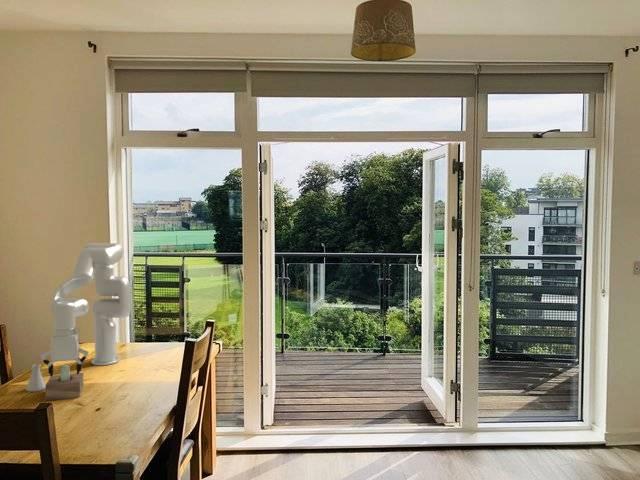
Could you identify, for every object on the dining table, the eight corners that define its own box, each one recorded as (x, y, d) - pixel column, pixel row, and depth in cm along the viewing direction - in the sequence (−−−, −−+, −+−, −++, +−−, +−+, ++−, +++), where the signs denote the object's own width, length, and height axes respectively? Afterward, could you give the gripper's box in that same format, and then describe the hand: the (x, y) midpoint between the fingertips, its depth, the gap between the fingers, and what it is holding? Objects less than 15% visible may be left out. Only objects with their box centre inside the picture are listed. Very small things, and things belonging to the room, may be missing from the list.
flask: (50, 387, 203) (50, 363, 203) (35, 393, 197) (34, 368, 196) (37, 385, 206) (37, 362, 205) (22, 390, 199) (21, 366, 199)
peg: (61, 389, 198) (61, 365, 197) (70, 388, 199) (70, 365, 198) (59, 392, 195) (59, 368, 194) (69, 391, 196) (69, 367, 195)
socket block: (51, 389, 200) (51, 375, 200) (83, 386, 205) (83, 372, 204) (45, 400, 189) (45, 385, 189) (79, 396, 193) (79, 382, 193)
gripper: (89, 329, 202) (89, 369, 203) (42, 331, 196) (42, 373, 197) (87, 333, 195) (87, 375, 196) (38, 336, 189) (39, 379, 190)
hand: (65, 374), depth 196 cm, fingers open, 9 cm apart
